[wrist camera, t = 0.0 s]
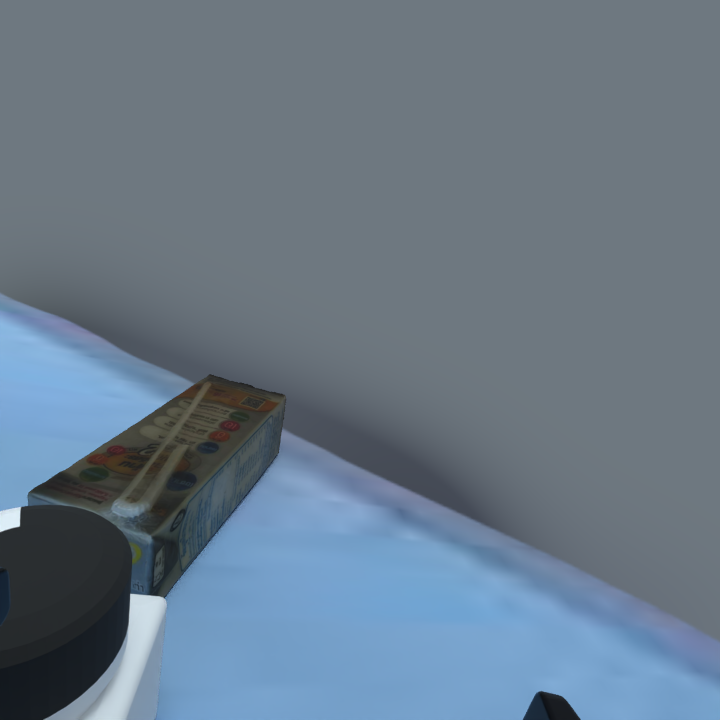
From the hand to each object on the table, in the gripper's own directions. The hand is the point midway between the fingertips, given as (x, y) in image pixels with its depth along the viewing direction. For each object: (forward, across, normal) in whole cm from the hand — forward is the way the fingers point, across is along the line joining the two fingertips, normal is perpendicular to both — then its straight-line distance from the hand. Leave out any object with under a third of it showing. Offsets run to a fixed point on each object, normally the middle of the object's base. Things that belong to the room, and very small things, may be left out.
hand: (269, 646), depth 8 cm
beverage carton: (+23, +10, +17) cm, 30 cm away
